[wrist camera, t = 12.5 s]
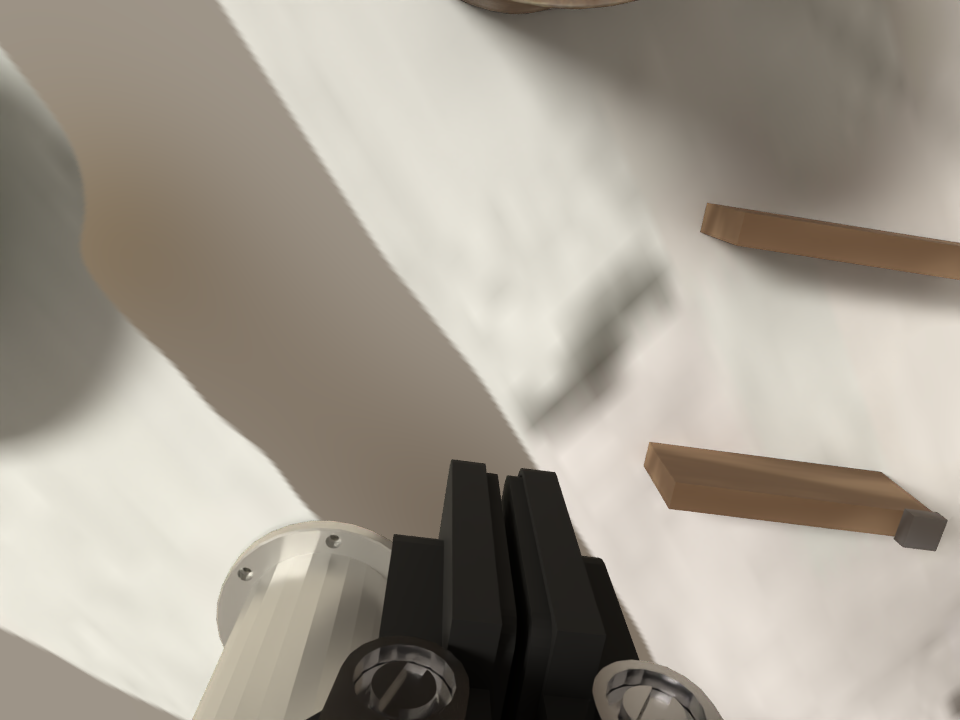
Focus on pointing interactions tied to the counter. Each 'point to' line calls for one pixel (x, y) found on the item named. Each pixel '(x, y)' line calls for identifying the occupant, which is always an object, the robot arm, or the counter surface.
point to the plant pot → (540, 4)
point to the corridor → (792, 484)
